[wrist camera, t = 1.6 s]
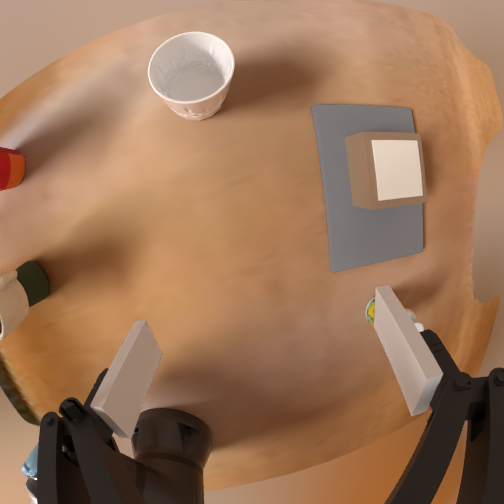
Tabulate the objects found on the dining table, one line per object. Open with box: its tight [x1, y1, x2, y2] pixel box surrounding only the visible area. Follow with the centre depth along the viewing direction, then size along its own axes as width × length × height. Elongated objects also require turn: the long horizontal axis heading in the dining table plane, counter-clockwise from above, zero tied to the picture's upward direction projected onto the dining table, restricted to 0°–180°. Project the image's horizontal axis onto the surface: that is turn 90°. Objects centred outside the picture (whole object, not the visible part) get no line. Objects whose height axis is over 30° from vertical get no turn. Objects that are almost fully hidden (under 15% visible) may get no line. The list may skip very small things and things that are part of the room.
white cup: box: [148, 32, 235, 121], centre depth 25 cm, size 8×8×10 cm
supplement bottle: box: [365, 297, 424, 332], centre depth 36 cm, size 5×5×10 cm
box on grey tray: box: [311, 105, 427, 273], centre depth 32 cm, size 22×16×6 cm
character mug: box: [0, 261, 49, 341], centre depth 26 cm, size 11×7×13 cm, turn 137°
